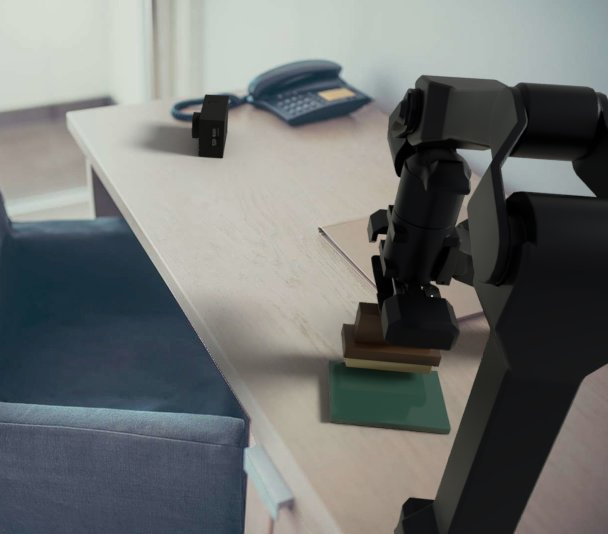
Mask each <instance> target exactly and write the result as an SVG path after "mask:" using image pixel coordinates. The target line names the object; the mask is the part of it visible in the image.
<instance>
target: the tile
mask: <svg viewBox="0 0 608 534" xmlns="http://www.w3.org/2000/svg"><path fill="white" fill-rule="evenodd" d="M326 365H327V384H328V385H327V386H328V387H327V388H328V406H329V423H336V424H346V425H356V426H365V427H373V428H374V427H375V428H385V429H392V430H393V429H395V430H404V431H413V432H414V431H415V432H422V433H423V432H424V433H434V434H442V435H443V434H444V435H450V433H451V430H452V427H451V422H450V419H449V415H448V411H447V406H446V402H445V398H444V397H445V396H444V394H443V389H442V385H441V381H440V376H439V372H438V370H432V369H431V372H430V374H421V373H410V372H400V371H389V370H379V369H368V368H357V367H347V366H346V364H345V361H338V360H327V364H326Z"/></svg>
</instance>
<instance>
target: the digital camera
mask: <svg viewBox="0 0 608 534" xmlns="http://www.w3.org/2000/svg"><path fill="white" fill-rule="evenodd" d="M202 101H203V102H202V105H201V108H200V112H199V111H193V113H192V120H191V138H192V139H195V140H196V139H197V140H198V147H197V148H198V149H197V151H198V153H197V154H198V155H197V156H198V157H200V158H201V157H204V158H217V159H223V158H224V154H225V148H226V142H227V135H228V127H229V126H228V125H229V105H230V96H229V95H226V94H225V95H222V94H207V93H206V94H204V97H203V100H202Z"/></svg>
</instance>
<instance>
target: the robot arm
mask: <svg viewBox="0 0 608 534" xmlns="http://www.w3.org/2000/svg"><path fill="white" fill-rule="evenodd" d="M386 135H387V137H386V140H387V144H388V148H389V152H390V156H391V159H392V160H391V161H392V164H393V168H394V172H395V175H396V177H398V178H399V181H398V186H397V191H396V195H395V198H394V203H393V204H388V206H387V209H386V208H379V209H378V210H376V211H374V212H372V213H371V214H370V215H369V219H368V222H367V227H366V231H367V238H368V243H371V244H375V243H377V242H378V237H379V235H383V236H384V235H385V239H383V238H381V239H380V240H379V242H378V243H379V244H378V251H379V254H374V255H372V256H371V257H370V262H371V269H372V274H373V278H374V279H373V280H374V283H375V289H376V294H375V295H376V303H378V309H379V313H380V316H381V322H382V329H383V335H384V340H385V341H386V342H387V343H389V344H390V345H394V346H405V347H415V348H426V349H437V350H440V351H449V352H450V351H451V350H453V349H454V348H455V347H456V345H457V342H458V339H459V337H460V334H461V329H460V326H459V323H458V319H457V316H456V312H455V309H454V306H453V305H452V304H451V303H450V302H449V300H448V299H447V298H446V297H442V295H441V291H440V289H439V287H438V286H446V287H447V286H448V287H450V285H451V282H452V279H453V280H455V281H457V282H460V283H461V284H464V285H467V286H469V287H472V288H474V291H475V294H476V296H477V299H478V302H479V304H480V307H481V309H482V312H483V314H484V317H485V319H486V322H487V324H488V327H489V333H488V337H487V341H486V344H485V347H484V350H483V353H482V356H481V359H480V362H479V365H478V368H477V371H476V375H475V377H474V380H473V382H472V385H471V389H470V392H469V395H468V398H467V401H466V404H465V407H464V410H463V413H462V416H461V419H460V423H459V426H458V429H457V431H456V434H455V436H454V440H453V443H452V446H451V450H450V453H449V455H448V458H447V461H446V465H445V467H444V471H443V473H442V477H441V480H440V483H439V486H438V488H437V492H436V495H435V496H434V499H432V498H421V497H415V496H414V497H412V496H409V497H408V498H407V499H406V500H405V501H404V503H402V505H401V509H400V514H399V519H398V522H397V525H396V527H395V528H394V529H393V534H515V533H516V531H517V529H518V526H519V524H520V522H521V520H522V518H523V515H524V514H525V511H526V509H527V507H528V504H529V502H530V500H531V498H532V495H533V493H534V491H535V489H536V486H537V484H538V483H539V480H540V477H541V475H542V474H543V471H544V468H545V466H546V464H547V463H548V460H549V458H550V455H551V453H552V450H553V448H554V446H555V444H556V442H557V439H558V437H559V435H560V433H561V430H562V429H563V426H564V424H565V422H566V419H567V416H568V415H569V413H570V410H571V408H572V406H573V404H574V401H575V400H576V397H577V395H578V393H579V390H580V388H581V386H582V384H583V382H584V380H585V379H586V377H587V376H589V375H591V374H593V373H595V372H596V371H599V370H600V369H602V368H603V367H604V366H606V365H608V96H607V95H606V94H605V93H603V92H601V91H596V90H595V89H594V88H592V87H590V86H588V85H587V86H585V85H571V84H569V85H568V84H555V83H554V84H553V83H540V82H539V83H537V82H518V83H516V84H515V85H514V86H509V85H508V84H505V83H504V82H501V81H500V80H498V79H493V78H492V79H491V78H477V77H462V76H461V77H460V76H445V75H431V74H421V75H420V76H419V77H418V78H417V79H416V81H414V88H413V87H409V88H408V89H407V90H406V92H405V94H404V96H403V98H402V100H401V101H399V103H398V104H397V105H396V107H395V108H394V109H393V111H392V112H391V114H390V115H389V117H388V126H387V133H386ZM457 150H467V151H479V152H481V151H482V152H484V151H489V150H490V156H491V161H490V163H489V165H488V167H487V169H486V171H485V172H484V173H483V175H482V177H481V179H480V180H479V183H478V184H477V186H476V187H475V189H474V191H473V193H472V195H471V197H470V198H469V200H468V202H467V206H466V212H467V218H466V219H463V220H462V221H460V222H459V223H457V222H458V219H459V216H460V213H461V210H462V206H463V203H464V200H465V196H469V195H470V194H471V190H472V181H471V177H472V174H473V172H472V169H471V168H470V165H469V163H468V161H467V160H466V159H465V158H464V156H462V155H461V154H460V153H458V151H457ZM508 158H515V159H516V158H517V159H529V160H530V159H531V160H533V159H534V160H543V161H557V162H558V161H559V162H571V165H572V169H573V171H574V173H575V175H576V176H577V177H578V178H579V180H580V181H581V182H582V183H583V184H584V185H585V186H586V187H587V188H588V189H589V190H590V191H591V192H592V194H593V195H594V196H593V195H592V196H590V195H578V194H577V195H576V194H564V193H550V192H539V191H538V192H537V191H527V190H526V191H525V190H520V191H514V192H512V193H511V194H509V196H507V197H506V192H505V191H506V190H505V185H504V178H503V171H502V168H503V167H504V164H506V161H507V160H508ZM432 282H435V284H434V283H432Z"/></svg>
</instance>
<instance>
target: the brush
mask: <svg viewBox="0 0 608 534" xmlns="http://www.w3.org/2000/svg"><path fill="white" fill-rule="evenodd" d="M340 335H341V336H340V337H341V347H342V357H343V359H344V362H345V364H346V366H347V367H357V368H368V369H379V370H389V371H400V372H410V373H421V374H430V372H431V370H432V369H433V367H436V368H439V367H440V365H441V360H442V358H443V355H442V352H441V350H437V349H426V348H415V347H405V346H394V345H390V344H389V343H387V342H386V341H385V340H384V335H383V329H382V322H381V316H380V313H379V309H378V302H367V301H358V305H357V309H356V314H355V318H354V323H342V326H341V332H340Z"/></svg>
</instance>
